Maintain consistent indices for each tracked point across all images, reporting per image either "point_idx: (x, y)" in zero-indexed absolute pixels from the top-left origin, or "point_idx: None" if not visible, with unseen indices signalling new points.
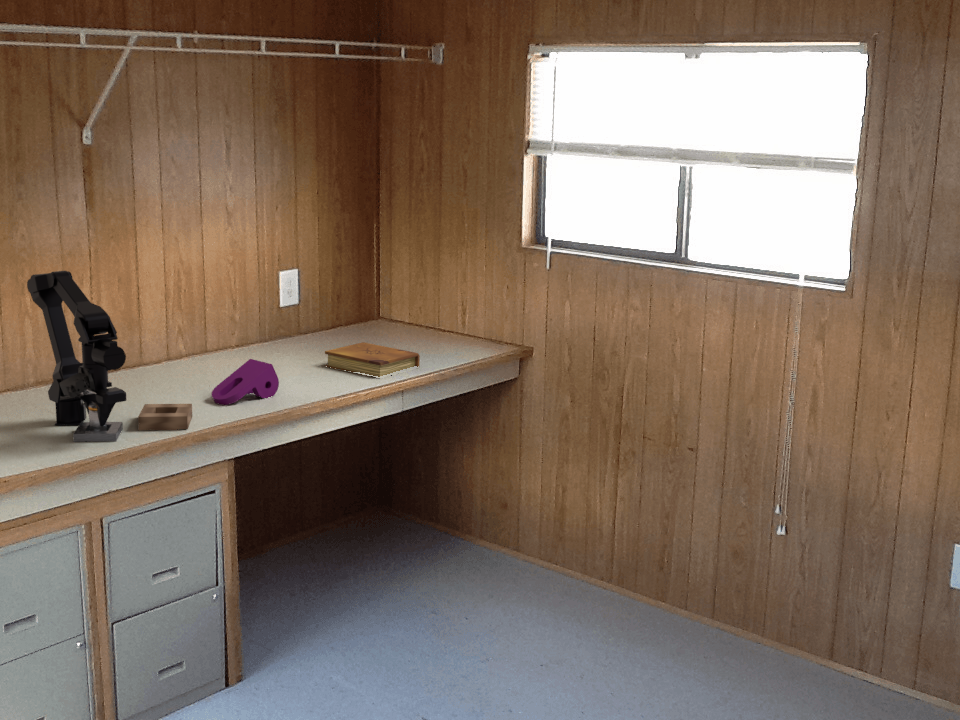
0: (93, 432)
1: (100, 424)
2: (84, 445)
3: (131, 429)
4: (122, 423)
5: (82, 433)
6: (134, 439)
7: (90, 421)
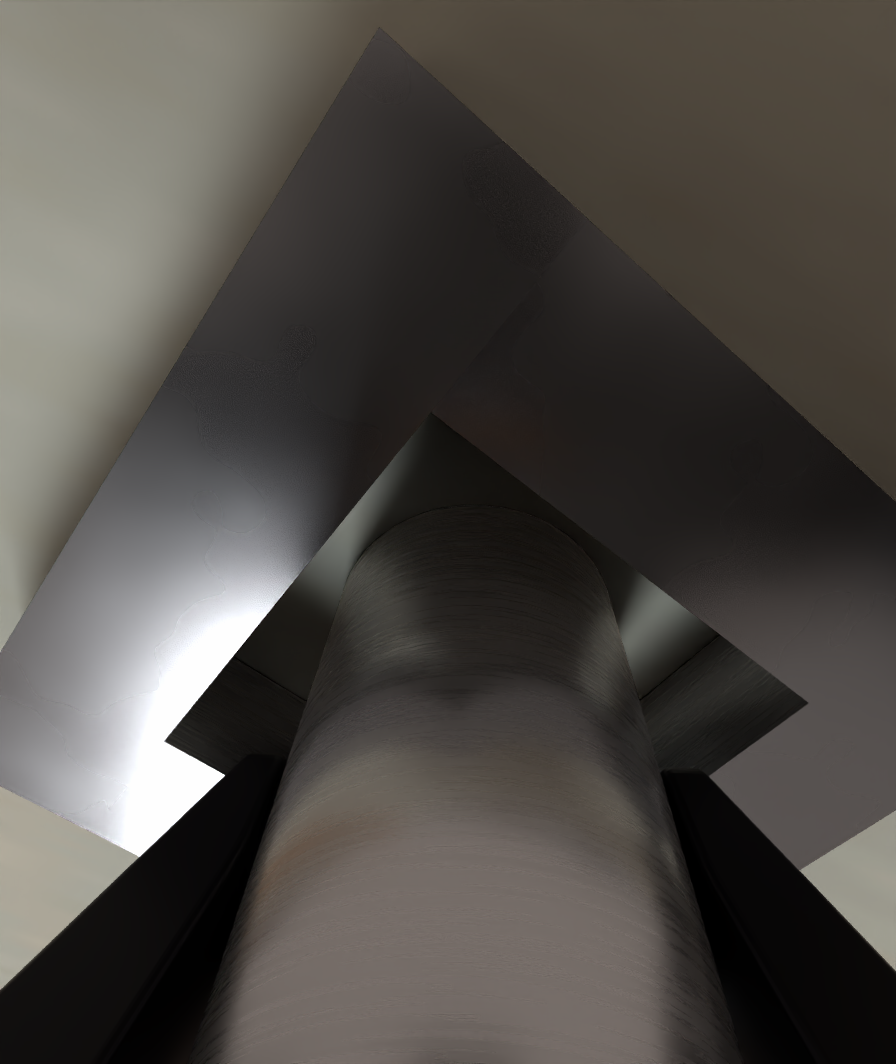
0: (207, 513)
1: (234, 771)
2: (29, 134)
3: None
4: None
5: (264, 277)
6: (11, 835)
7: (457, 707)
